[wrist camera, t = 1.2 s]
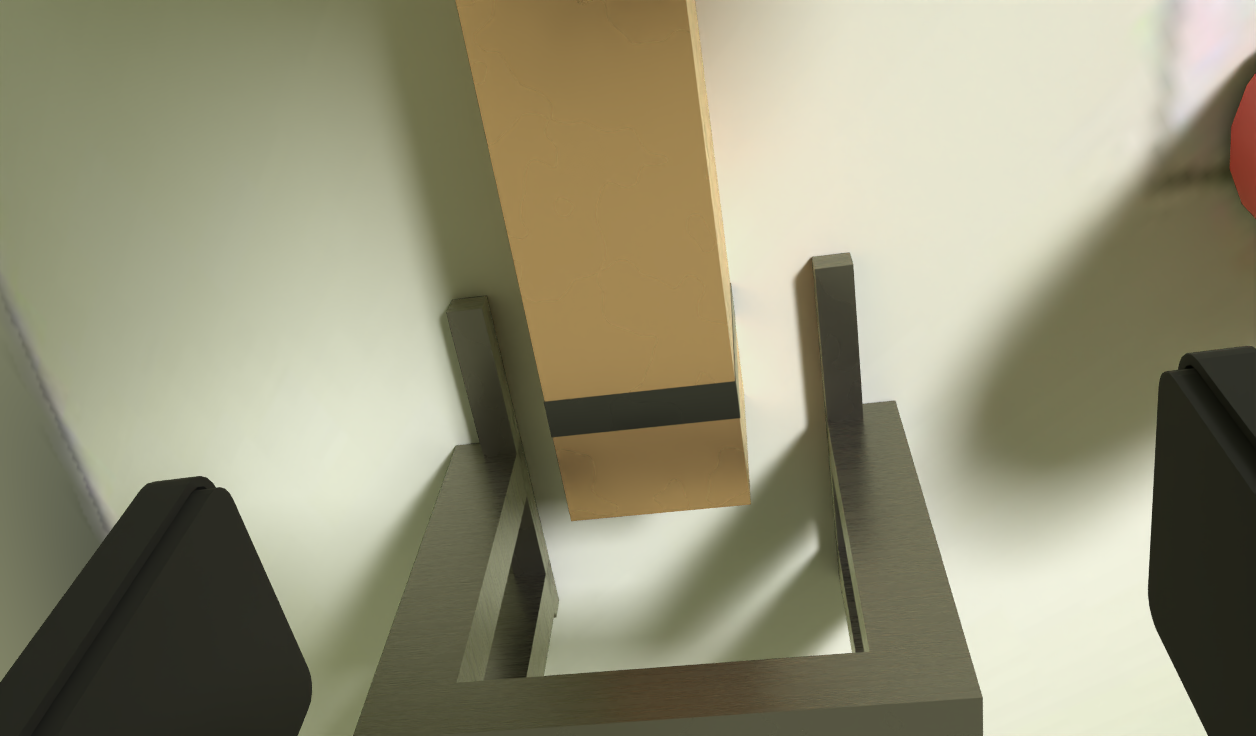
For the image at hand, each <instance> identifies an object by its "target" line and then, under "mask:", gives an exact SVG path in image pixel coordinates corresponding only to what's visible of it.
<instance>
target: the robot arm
mask: <svg viewBox="0 0 1256 736" xmlns="http://www.w3.org/2000/svg"><path fill="white" fill-rule="evenodd" d="M1148 598H1149V606H1150V611H1151V615H1152V619H1153V622H1154V625H1155V627H1156V630H1157V632H1158V634H1159V636H1160V638H1161V640H1162V642H1163V644H1164V646H1165V648H1166V650H1167V653H1168V655H1169V657H1170V659H1171V661H1172V663H1173V665H1174V667H1175V669H1176V671H1177V673H1178V675H1179V677H1180V679H1181V681H1182V683H1183V685H1184V687H1185V689H1186V691H1187V694H1188V696H1189V698H1190V700H1191V702H1192V704H1193V706H1194V708H1195V710H1196V712H1197V714H1198V716H1199V718H1200V720H1201V722H1202V724H1203V726H1204V728H1205V730H1206V732H1207V735H1208V736H1256V349H1255V348H1254V347H1252V346H1243V347H1235V348H1226V349H1218V350H1210V351H1202V352H1194V353H1186V354H1185V355H1184V356H1183V357H1182V358H1181V361H1180V363H1179V367H1178V370H1174V371H1166V372H1164V373H1163V374H1162V375H1161V378H1160V382H1159V391H1158V410H1157V429H1156V448H1155V467H1154V486H1153V504H1152V523H1151V542H1150V561H1149V580H1148ZM311 695H312V682H311V675H310V672H309V669H308V667H307V664H306V662H305V660H304V658H303V655H302V653H301V651H300V649H299V646H298V644H297V642H296V640H295V637H294V635H293V633H292V631H291V628H290V626H289V624H288V622H287V619H286V617H285V615H284V613H283V610H282V608H281V606H280V604H279V601H278V599H277V597H276V595H275V592H274V590H273V588H272V586H271V583H270V581H269V579H268V577H267V574H266V572H265V570H264V568H263V565H262V563H261V561H260V559H259V556H258V554H257V552H256V550H255V547H254V545H253V543H252V541H251V538H250V536H249V534H248V532H247V529H246V527H245V525H244V523H243V520H242V518H241V516H240V514H239V512H238V509H237V507H236V505H235V503H234V500H233V498H232V497H231V495H230V493H229V492H228V491H227V490H226V489H224V488H220V487H218V488H216V487H215V486H214V484H213V483H212V482H211V481H210V480H209V479H208V478H206V477H202V476H196V477H188V478H180V479H172V480H164V481H156V482H152V483H148V484H146V485H145V486H144V487H143V488H142V489H141V490H140V492H139V493H138V494H137V496H136V497H135V498H134V500H133V501H132V502H131V504H130V505H129V507H128V508H127V509H126V511H125V512H124V513H123V515H122V516H121V518H120V519H119V520H118V522H117V523H116V524H115V526H114V527H113V529H112V530H111V531H110V533H109V534H108V535H107V537H106V538H105V540H104V541H103V542H102V544H101V545H100V547H99V548H98V549H97V551H96V552H95V553H94V555H93V556H92V557H91V559H90V560H89V561H88V563H87V564H86V566H85V567H84V568H83V570H82V571H81V573H80V574H79V575H78V577H77V578H76V579H75V581H74V582H73V583H72V585H71V586H70V588H69V589H68V590H67V592H66V593H65V594H64V596H63V597H62V599H61V600H60V601H59V603H58V604H57V606H56V607H55V608H54V609H53V611H52V612H51V614H50V615H49V616H48V618H47V619H46V620H45V622H44V623H43V625H42V626H41V627H40V629H39V630H38V632H37V633H36V634H35V636H34V637H33V638H32V640H31V641H30V642H29V644H28V645H27V647H26V648H25V649H24V651H23V652H22V653H21V655H20V656H19V658H18V659H17V660H16V662H15V663H14V664H13V666H12V667H11V668H10V670H9V671H8V673H7V674H6V675H5V677H4V678H3V680H2V681H1V682H0V736H298V733H299V731H300V728H301V726H302V723H303V721H304V718H305V716H306V713H307V711H308V708H309V705H310V702H311Z"/></svg>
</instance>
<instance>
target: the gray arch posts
mask: <svg viewBox="0 0 1256 736" xmlns="http://www.w3.org/2000/svg"><path fill="white" fill-rule="evenodd" d="M812 263H813V274H814V286H815V298H816V310H817V322H818V333H819V345H820V357H821V369H822V381H823V392H824V404H825V416H826V428H827V439H828V451H829V463H830V475H831V487H832V498H833V510H834V522H835V534H836V546H837V557H838V569H839V579H840V585H841V591H842V594H843V601H844V607H845V613H846V619H847V625H848V631H849V637H850V643H851V649H852V653H845V654H832V655H819V656H805V657H792V658H779V659H765V660H752V661H739V662H725V663H712V664H699V665H685V666H672V667H659V668H645V669H632V670H618V671H605V672H592V673H578V674H565V675H552V676H544V671H545V666H546V660H547V654H548V648H549V642H550V637H551V631H552V625H553V619H554V618H555V617H556V616H557V610H558V604H559V598H558V594H557V590H556V586H555V581H554V577H553V573H552V569H551V564H550V560H549V556H548V552H547V548H546V543H545V539H544V535H543V531H542V527H541V522H540V518H539V514H538V510H537V506H536V501H535V497H534V493H533V489H532V484H531V480H530V476H529V472H528V468H527V463H526V459H525V455H524V451H523V447H522V442H521V438H520V434H519V430H518V426H517V421H516V417H515V413H514V409H513V404H512V400H511V396H510V392H509V388H508V383H507V379H506V375H505V371H504V367H503V362H502V358H501V354H500V350H499V345H498V341H497V337H496V333H495V329H494V324H493V320H492V316H491V312H490V308H489V303H488V299H487V296H481V297H472V298H464V299H455V300H452V301H451V303H450V305H449V308H448V310H447V312H446V313H447V317H448V321H449V325H450V329H451V333H452V337H453V340H454V344H455V348H456V352H457V356H458V360H459V364H460V368H461V371H462V375H463V379H464V383H465V387H466V391H467V395H468V399H469V402H470V406H471V410H472V414H473V418H474V422H475V426H476V430H477V433H478V437H479V441H480V443H476V444H467V445H457V446H456V447H455V449H454V452H453V455H452V458H451V461H450V464H449V466H448V469H447V472H446V475H445V478H444V481H443V483H442V486H441V489H440V492H439V495H438V497H437V500H436V503H435V506H434V509H433V512H432V514H431V517H430V520H429V523H428V526H427V529H426V531H425V534H424V537H423V540H422V543H421V545H420V548H419V551H418V554H417V557H416V560H415V562H414V565H413V568H412V571H411V574H410V576H409V579H408V582H407V585H406V588H405V591H404V593H403V596H402V599H401V602H400V605H399V608H398V610H397V613H396V616H395V619H394V622H393V624H392V627H391V630H390V633H389V636H388V639H387V641H386V644H385V647H384V650H383V653H382V656H381V658H380V661H379V664H378V667H377V670H376V672H375V675H374V678H373V681H372V684H371V687H370V689H369V692H368V695H367V698H366V701H365V704H364V706H363V709H362V712H361V715H360V718H359V720H358V723H357V726H356V729H355V732H354V735H353V736H983V697H982V694H981V691H980V687H979V684H978V680H977V677H976V674H975V670H974V667H973V663H972V660H971V657H970V653H969V650H968V646H967V643H966V639H965V636H964V633H963V629H962V626H961V622H960V619H959V616H958V612H957V609H956V605H955V602H954V599H953V595H952V592H951V588H950V585H949V582H948V578H947V575H946V571H945V568H944V565H943V561H942V558H941V554H940V551H939V548H938V544H937V541H936V537H935V534H934V531H933V527H932V524H931V520H930V517H929V514H928V510H927V507H926V503H925V500H924V497H923V493H922V490H921V486H920V483H919V480H918V476H917V473H916V469H915V466H914V463H913V459H912V456H911V452H910V449H909V446H908V442H907V439H906V435H905V432H904V429H903V425H902V422H901V418H900V415H899V412H898V408H897V405H896V401H887V402H877V403H867V404H862V390H861V375H860V360H859V345H858V330H857V315H856V300H855V285H854V270H853V262H852V259H851V255H850V253H841V254H833V255H825V256H816V257H812Z"/></svg>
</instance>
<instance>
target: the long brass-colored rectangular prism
mask: <svg viewBox="0 0 1256 736" xmlns="http://www.w3.org/2000/svg"><path fill="white" fill-rule="evenodd" d="M456 5H457V9H458V14H459V18H460V23H461V27H462V32H463V36H464V41H465V45H466V50H467V54H468V59H469V63H470V68H471V72H472V77H473V81H474V86H475V90H476V95H477V99H478V104H479V108H480V113H481V117H482V122H483V126H484V131H485V135H486V140H487V144H488V149H489V153H490V158H491V162H492V167H493V171H494V176H495V180H496V185H497V189H498V194H499V198H500V203H501V207H502V212H503V216H504V221H505V225H506V230H507V234H508V239H509V243H510V248H511V252H512V257H513V261H514V266H515V270H516V275H517V279H518V284H519V288H520V293H521V297H522V302H523V306H524V311H525V315H526V320H527V324H528V329H529V333H530V338H531V342H532V347H533V351H534V356H535V360H536V365H537V369H538V374H539V378H540V383H541V387H542V392H543V396H544V405H545V409H546V414H547V418H548V423H549V427H550V432H551V436H552V437H553V441H554V446H555V450H556V455H557V459H558V464H559V468H560V473H561V477H562V482H563V486H564V491H565V495H566V500H567V504H568V509H569V513H570V518H571V521H577V520H588V519H599V518H610V517H620V516H631V515H642V514H653V513H663V512H674V511H685V510H696V509H706V508H717V507H728V506H739V505H749V504H751V499H750V483H749V467H748V451H747V435H746V419H745V403H744V390H743V382H742V374H741V366H740V358H739V350H738V342H737V334H736V325H735V312H734V304H733V296H732V288H731V283H730V278H729V269H728V261H727V253H726V245H725V237H724V229H723V221H722V213H721V205H720V197H719V189H718V181H717V173H716V165H715V157H714V149H713V141H712V133H711V125H710V117H709V109H708V101H707V93H706V85H705V77H704V69H703V61H702V53H701V45H700V37H699V29H698V21H697V13H696V5H695V0H456Z"/></svg>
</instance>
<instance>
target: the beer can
mask: <svg viewBox="0 0 1256 736" xmlns="http://www.w3.org/2000/svg"><path fill="white" fill-rule="evenodd" d="M1230 171H1231V174H1232V177H1233V180H1234V183H1235V186H1236V189H1237V191H1238V194H1239V197H1240V200H1241V203H1242V204H1243V205H1244V207H1245V208H1246V209H1247V210H1248V211H1249V212H1250V213H1251V214H1252V215H1253V216H1254V218H1255V219H1256V73H1255V75H1254V76H1253V77H1252V79H1251V80H1250V81H1249V83H1248V84H1247V86H1246V88H1245V91H1244V94H1243V96H1242V99H1241V102H1240V105H1239V107H1238V110H1237V113H1236V115H1235V118H1234V121H1233V123H1232V126H1231V146H1230Z"/></svg>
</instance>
